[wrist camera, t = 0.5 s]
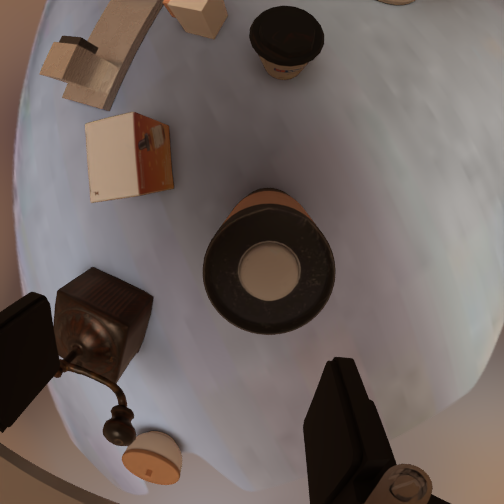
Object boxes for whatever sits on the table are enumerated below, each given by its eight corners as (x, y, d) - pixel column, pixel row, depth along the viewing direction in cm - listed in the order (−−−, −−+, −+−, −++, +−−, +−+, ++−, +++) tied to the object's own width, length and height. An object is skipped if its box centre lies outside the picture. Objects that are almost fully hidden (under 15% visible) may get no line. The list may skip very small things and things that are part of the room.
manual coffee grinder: (82, 325, 42) (16, 391, 24) (92, 264, 39) (8, 320, 22) (169, 368, 43) (128, 457, 25) (190, 310, 40) (144, 400, 22)
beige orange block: (227, 15, 29) (218, -17, 21) (214, 39, 30) (201, 11, 23) (192, 7, 29) (176, -24, 21) (178, 30, 30) (159, 3, 22)
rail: (145, -37, 26) (120, -71, 17) (189, -33, 27) (170, -73, 17) (70, 99, 33) (24, 88, 23) (109, 111, 33) (65, 99, 23)
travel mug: (255, 260, 37) (243, 355, 18) (224, 205, 36) (174, 249, 17) (312, 231, 36) (358, 301, 17) (281, 173, 34) (299, 180, 15)
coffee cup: (244, 49, 30) (235, 12, 21) (297, 32, 29) (306, -8, 20) (267, 97, 32) (267, 72, 22) (322, 78, 31) (340, 49, 21)
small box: (174, 189, 36) (140, 198, 25) (133, 193, 36) (89, 205, 26) (170, 124, 33) (134, 110, 23) (128, 131, 34) (83, 123, 24)
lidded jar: (198, 443, 47) (188, 481, 38) (171, 462, 50) (161, 496, 41) (148, 414, 46) (131, 452, 37) (126, 436, 49) (111, 469, 40)
